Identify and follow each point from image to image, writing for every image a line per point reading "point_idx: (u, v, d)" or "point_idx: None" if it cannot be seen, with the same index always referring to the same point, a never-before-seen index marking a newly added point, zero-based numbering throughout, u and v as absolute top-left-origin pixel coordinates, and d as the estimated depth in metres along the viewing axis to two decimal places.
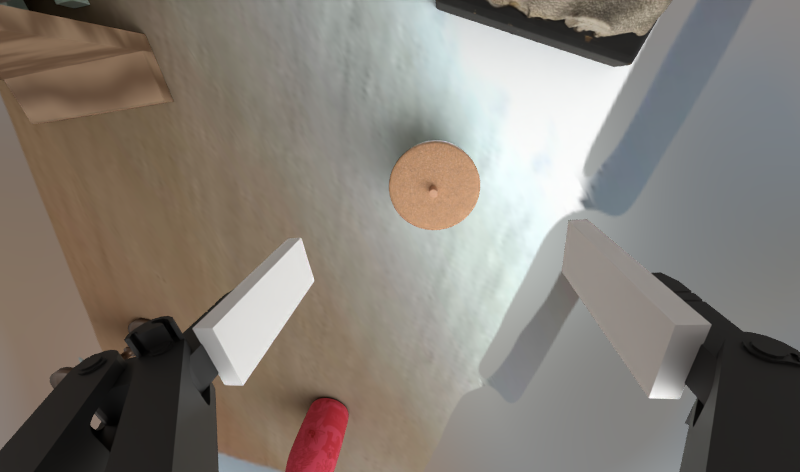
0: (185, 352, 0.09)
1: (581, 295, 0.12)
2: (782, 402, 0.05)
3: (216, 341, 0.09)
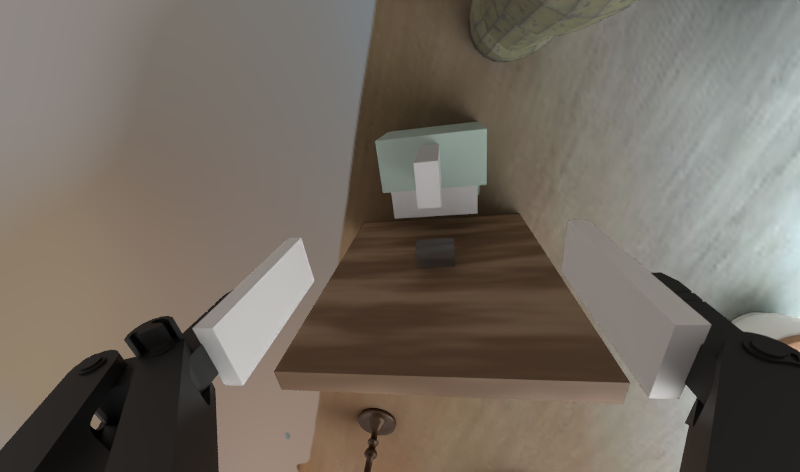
0: (185, 352, 0.09)
1: (581, 295, 0.12)
2: (783, 402, 0.05)
3: (216, 341, 0.09)
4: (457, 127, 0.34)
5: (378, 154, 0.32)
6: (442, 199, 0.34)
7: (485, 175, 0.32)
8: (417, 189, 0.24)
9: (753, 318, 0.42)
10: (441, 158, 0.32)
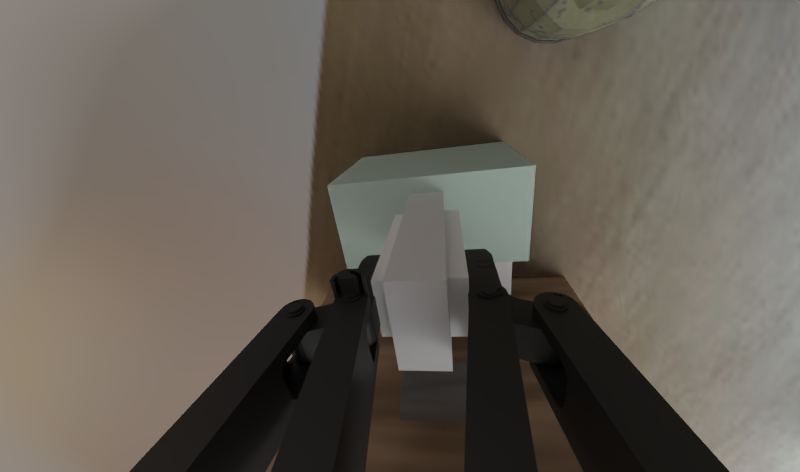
0: (367, 308, 0.09)
1: None
2: (497, 323, 0.08)
3: None
4: (474, 155, 0.20)
5: (334, 208, 0.18)
6: None
7: (527, 245, 0.18)
8: (395, 335, 0.10)
9: None
10: None
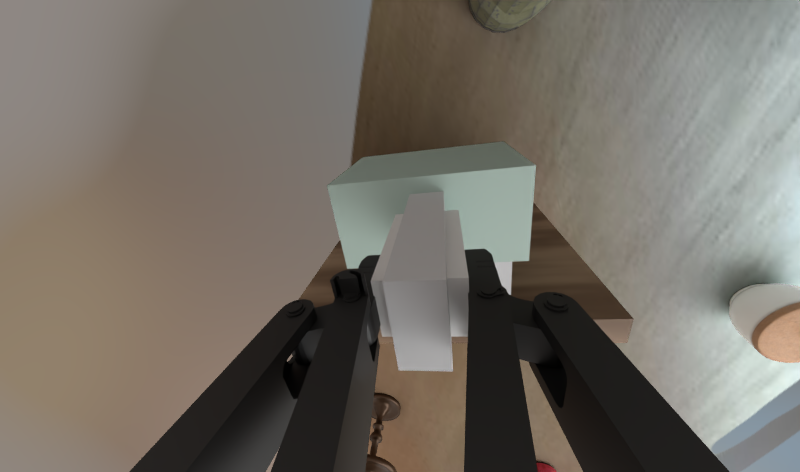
0: (367, 308, 0.09)
1: None
2: (497, 323, 0.08)
3: None
4: (474, 155, 0.20)
5: (334, 208, 0.18)
6: None
7: (528, 245, 0.18)
8: (395, 335, 0.10)
9: (756, 289, 0.42)
10: None
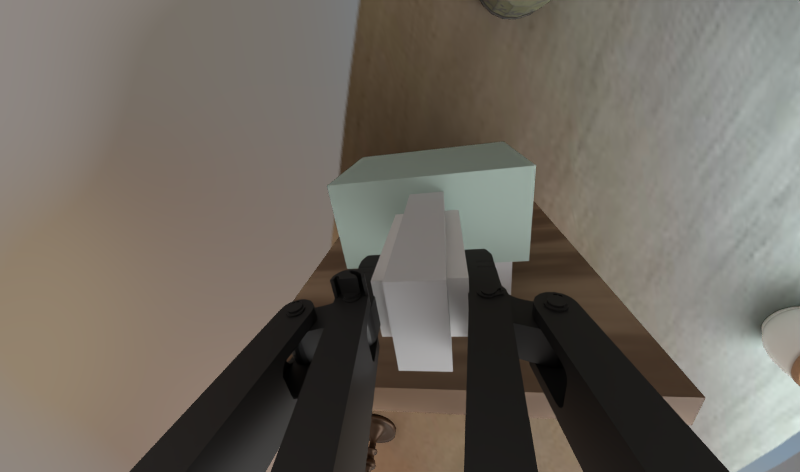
0: (367, 308, 0.09)
1: None
2: (497, 323, 0.08)
3: None
4: (474, 155, 0.20)
5: (334, 208, 0.18)
6: None
7: (528, 246, 0.17)
8: (395, 335, 0.10)
9: (795, 313, 0.38)
10: None
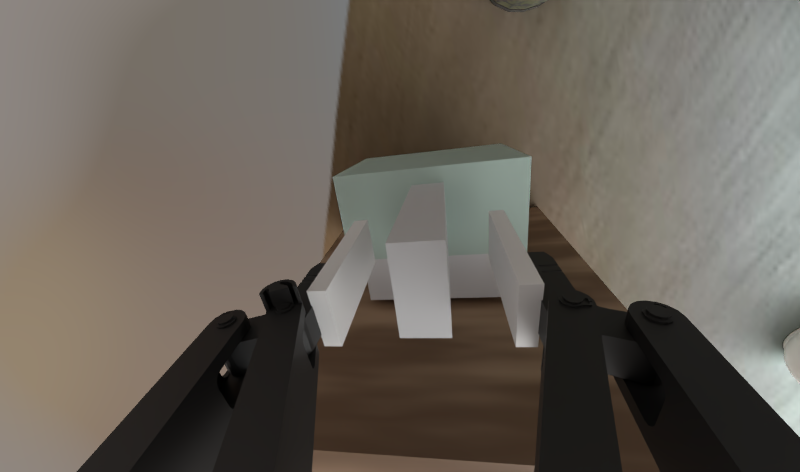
0: (301, 316, 0.09)
1: (494, 274, 0.14)
2: (583, 336, 0.07)
3: (326, 303, 0.10)
4: (473, 153, 0.21)
5: (339, 199, 0.19)
6: (449, 273, 0.20)
7: (525, 236, 0.18)
8: (397, 299, 0.10)
9: None
10: (448, 207, 0.18)
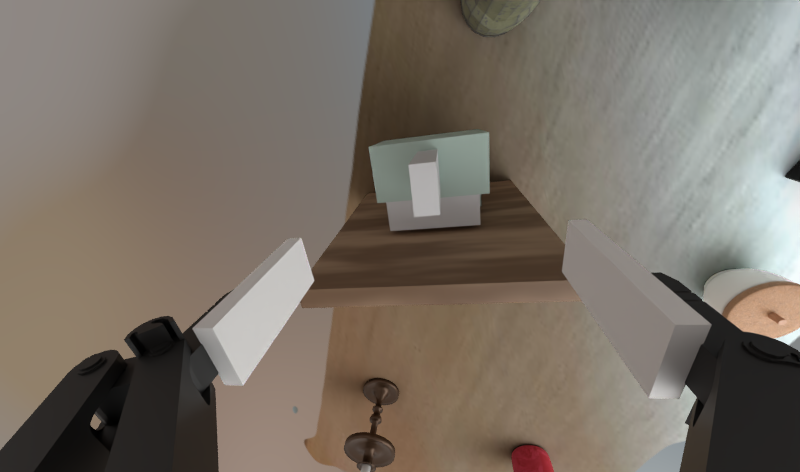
0: (185, 352, 0.09)
1: (581, 295, 0.12)
2: (782, 402, 0.05)
3: (216, 341, 0.09)
4: (457, 133, 0.32)
5: (372, 161, 0.30)
6: (441, 210, 0.31)
7: (488, 183, 0.29)
8: (413, 194, 0.21)
9: (726, 273, 0.46)
10: (440, 165, 0.29)
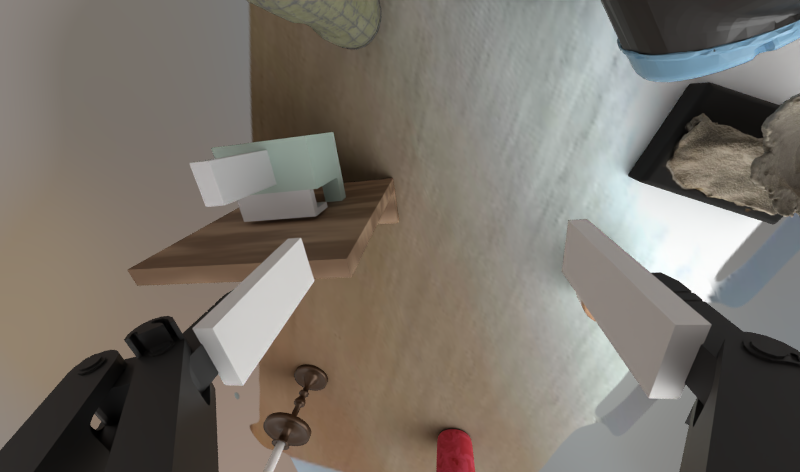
0: (185, 352, 0.09)
1: (581, 295, 0.12)
2: (783, 402, 0.05)
3: (216, 341, 0.09)
4: None
5: None
6: (281, 203, 0.35)
7: (314, 179, 0.34)
8: (199, 188, 0.26)
9: None
10: (272, 163, 0.34)
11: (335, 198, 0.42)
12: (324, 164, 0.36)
